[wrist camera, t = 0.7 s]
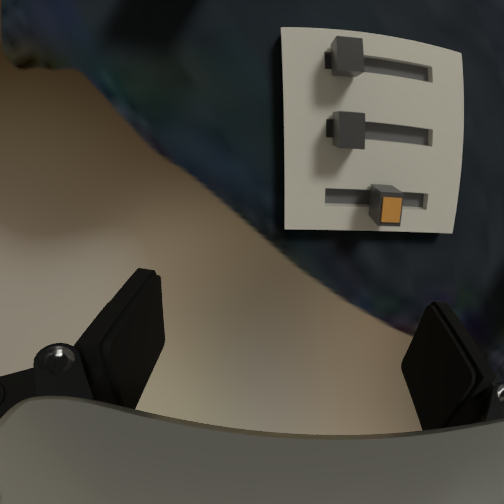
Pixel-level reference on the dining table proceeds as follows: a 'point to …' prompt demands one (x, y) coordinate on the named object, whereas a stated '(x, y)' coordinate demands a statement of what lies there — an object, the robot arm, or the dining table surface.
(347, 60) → the block
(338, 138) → the breaker middle
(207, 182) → the dining table surface
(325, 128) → the breaker board
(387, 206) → the breaker
